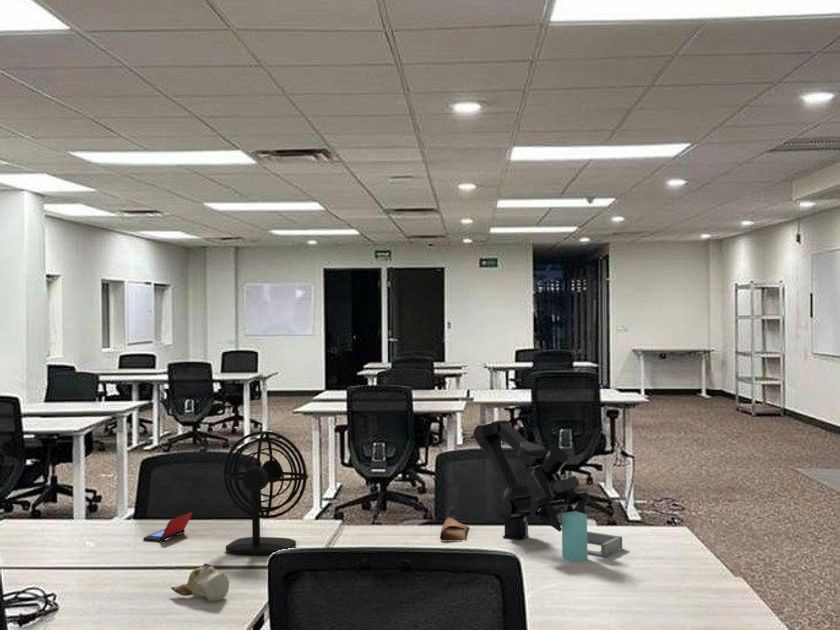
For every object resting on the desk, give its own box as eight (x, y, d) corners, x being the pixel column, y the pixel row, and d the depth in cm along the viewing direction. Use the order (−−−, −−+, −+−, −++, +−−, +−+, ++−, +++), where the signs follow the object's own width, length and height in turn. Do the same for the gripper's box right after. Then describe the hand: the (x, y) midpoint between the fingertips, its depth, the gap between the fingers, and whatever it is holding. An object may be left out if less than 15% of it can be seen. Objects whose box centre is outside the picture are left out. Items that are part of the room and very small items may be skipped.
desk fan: (315, 542, 264) (313, 429, 264) (295, 557, 247) (293, 437, 247) (233, 539, 270) (231, 428, 270) (208, 554, 253) (207, 435, 253)
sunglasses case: (467, 541, 262) (456, 522, 263) (448, 552, 263) (436, 534, 263) (469, 527, 280) (459, 509, 281) (451, 537, 281) (441, 520, 281)
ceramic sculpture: (205, 571, 205) (167, 565, 214) (207, 608, 204) (169, 600, 213) (240, 561, 213) (202, 555, 222) (242, 596, 213) (204, 589, 222)
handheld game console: (165, 532, 281) (165, 509, 281) (193, 534, 278) (193, 511, 278) (141, 541, 269) (141, 517, 269) (170, 544, 266) (170, 520, 266)
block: (562, 557, 244) (561, 513, 244) (576, 554, 246) (575, 511, 246) (573, 561, 239) (573, 516, 239) (587, 558, 242) (586, 514, 242)
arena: (570, 551, 250) (569, 539, 250) (587, 542, 258) (587, 531, 258) (605, 557, 243) (604, 544, 243) (622, 548, 252) (622, 536, 252)
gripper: (534, 470, 243) (559, 516, 234) (585, 464, 253) (611, 508, 243) (518, 493, 250) (542, 539, 240) (568, 486, 259) (593, 530, 250)
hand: (573, 528), depth 243 cm, fingers open, 9 cm apart
